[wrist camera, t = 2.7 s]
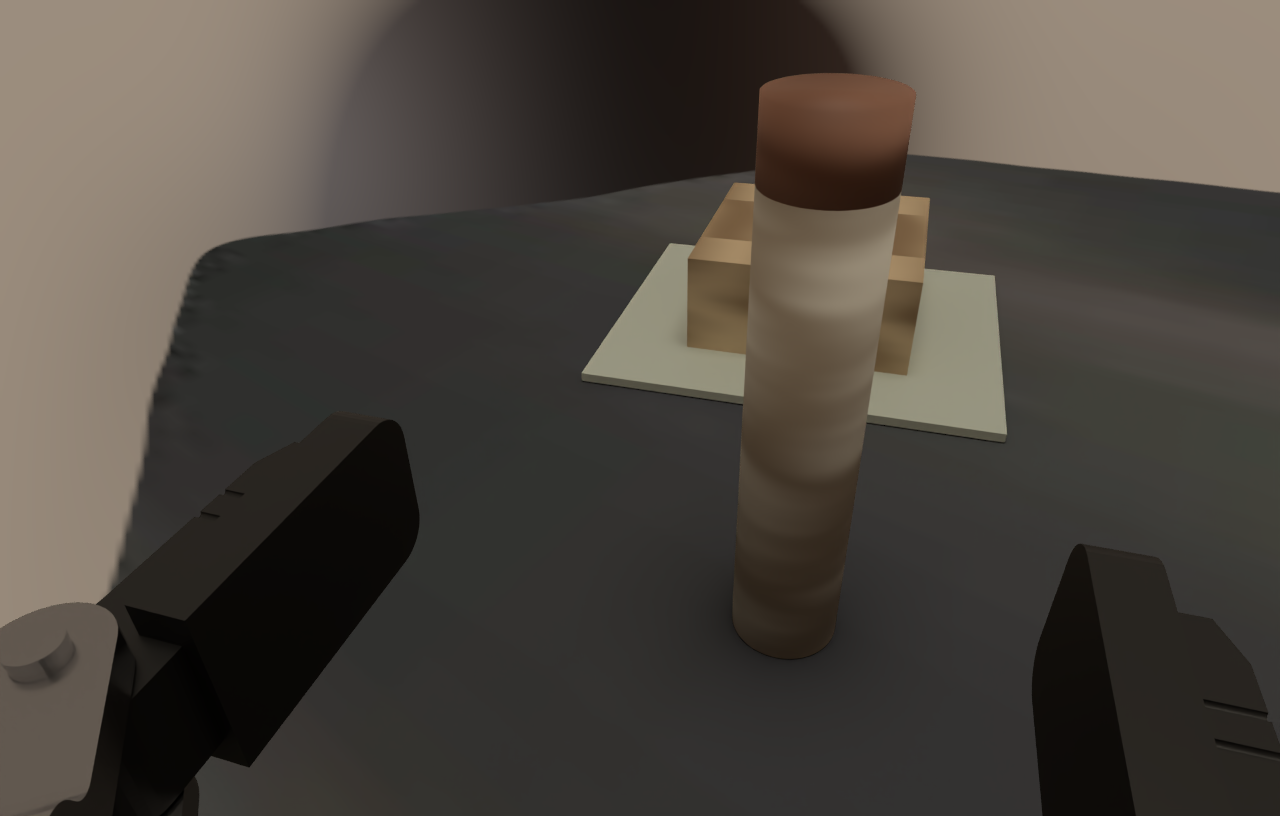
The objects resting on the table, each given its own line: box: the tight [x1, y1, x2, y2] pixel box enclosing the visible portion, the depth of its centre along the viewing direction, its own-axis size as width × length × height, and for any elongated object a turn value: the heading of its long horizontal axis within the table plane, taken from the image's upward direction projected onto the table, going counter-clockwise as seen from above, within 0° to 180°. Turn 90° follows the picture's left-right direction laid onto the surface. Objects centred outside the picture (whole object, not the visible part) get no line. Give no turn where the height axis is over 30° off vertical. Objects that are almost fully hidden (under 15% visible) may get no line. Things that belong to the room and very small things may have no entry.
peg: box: [732, 73, 916, 659], centre depth 22 cm, size 3×3×16 cm
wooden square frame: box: [687, 183, 930, 376], centre depth 42 cm, size 10×10×4 cm
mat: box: [582, 243, 1007, 443], centre depth 42 cm, size 18×15×1 cm
